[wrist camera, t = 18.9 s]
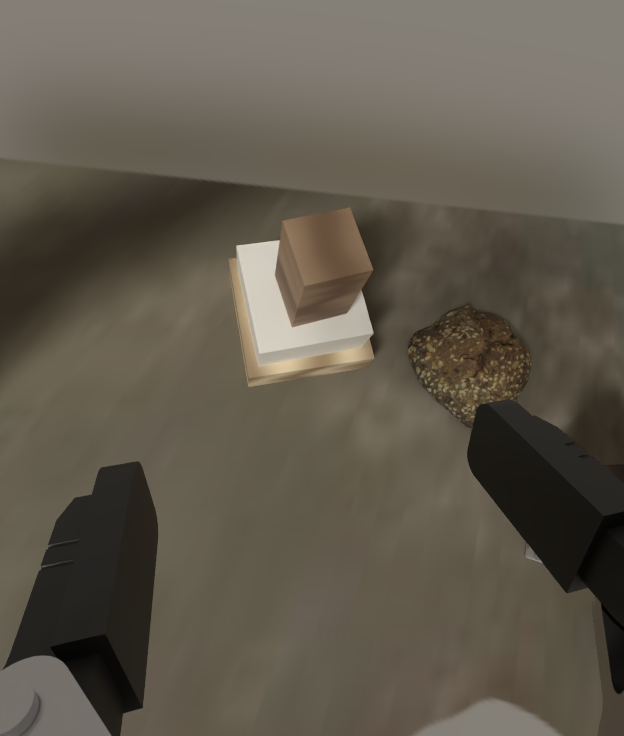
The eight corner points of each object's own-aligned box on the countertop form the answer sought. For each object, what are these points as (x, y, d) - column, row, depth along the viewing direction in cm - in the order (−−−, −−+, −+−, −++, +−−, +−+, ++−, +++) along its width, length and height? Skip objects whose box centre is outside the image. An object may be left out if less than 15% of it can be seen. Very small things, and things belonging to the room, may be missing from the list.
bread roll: (467, 446, 43) (494, 441, 39) (390, 352, 45) (407, 337, 40) (544, 374, 47) (578, 362, 42) (470, 290, 48) (495, 268, 44)
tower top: (258, 366, 38) (259, 353, 35) (237, 268, 41) (236, 245, 37) (361, 347, 40) (373, 333, 37) (336, 254, 43) (345, 231, 39)
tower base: (248, 387, 42) (248, 378, 38) (230, 278, 45) (228, 258, 41) (363, 369, 44) (374, 358, 40) (339, 266, 47) (347, 246, 43)
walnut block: (291, 327, 36) (304, 286, 28) (274, 274, 37) (282, 220, 29) (346, 313, 37) (373, 269, 29) (328, 262, 38) (349, 207, 30)
